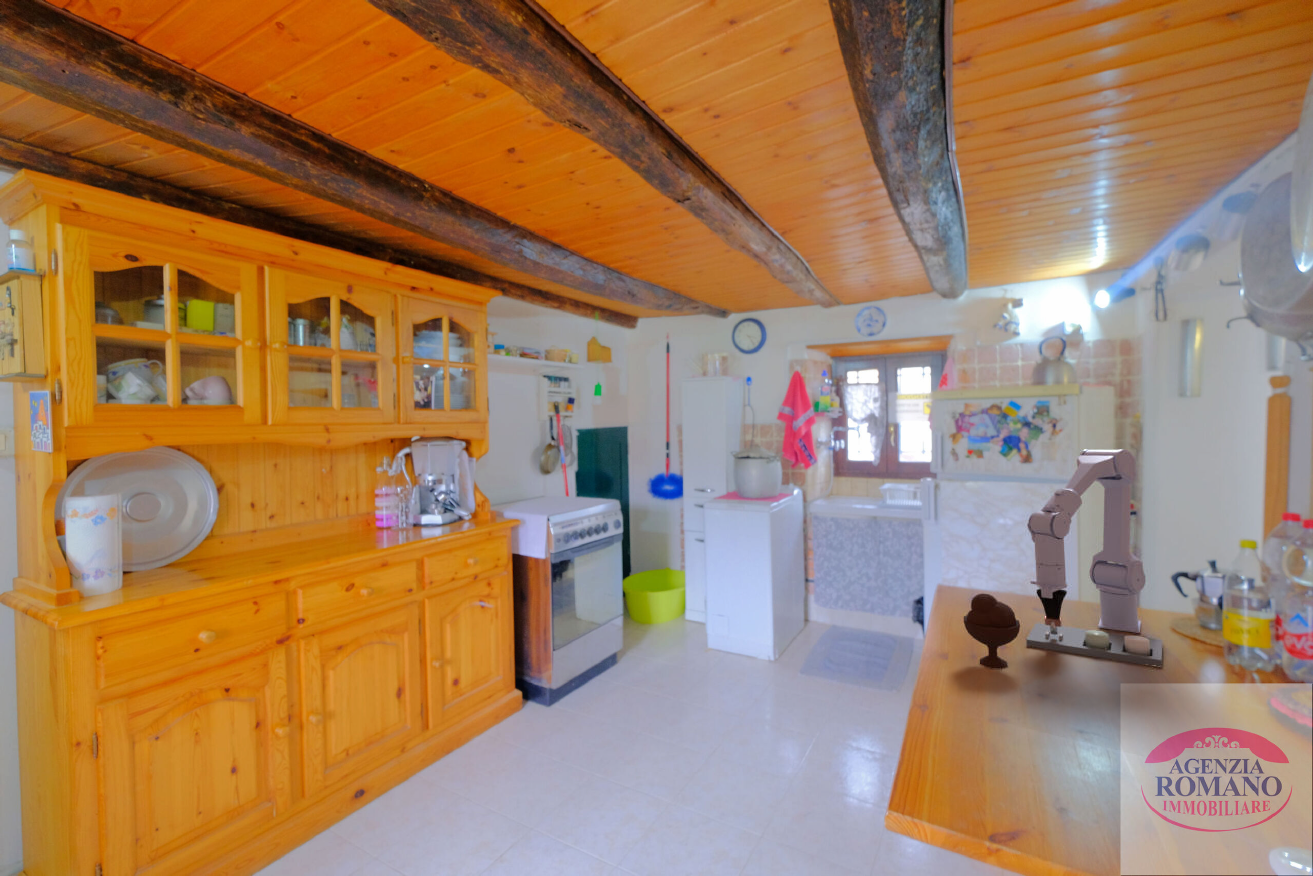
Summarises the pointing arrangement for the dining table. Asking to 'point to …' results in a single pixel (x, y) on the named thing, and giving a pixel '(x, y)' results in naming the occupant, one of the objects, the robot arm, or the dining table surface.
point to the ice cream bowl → (991, 627)
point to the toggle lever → (1053, 624)
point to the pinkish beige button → (1137, 645)
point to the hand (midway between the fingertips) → (1053, 621)
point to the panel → (1075, 643)
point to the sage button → (1096, 639)
